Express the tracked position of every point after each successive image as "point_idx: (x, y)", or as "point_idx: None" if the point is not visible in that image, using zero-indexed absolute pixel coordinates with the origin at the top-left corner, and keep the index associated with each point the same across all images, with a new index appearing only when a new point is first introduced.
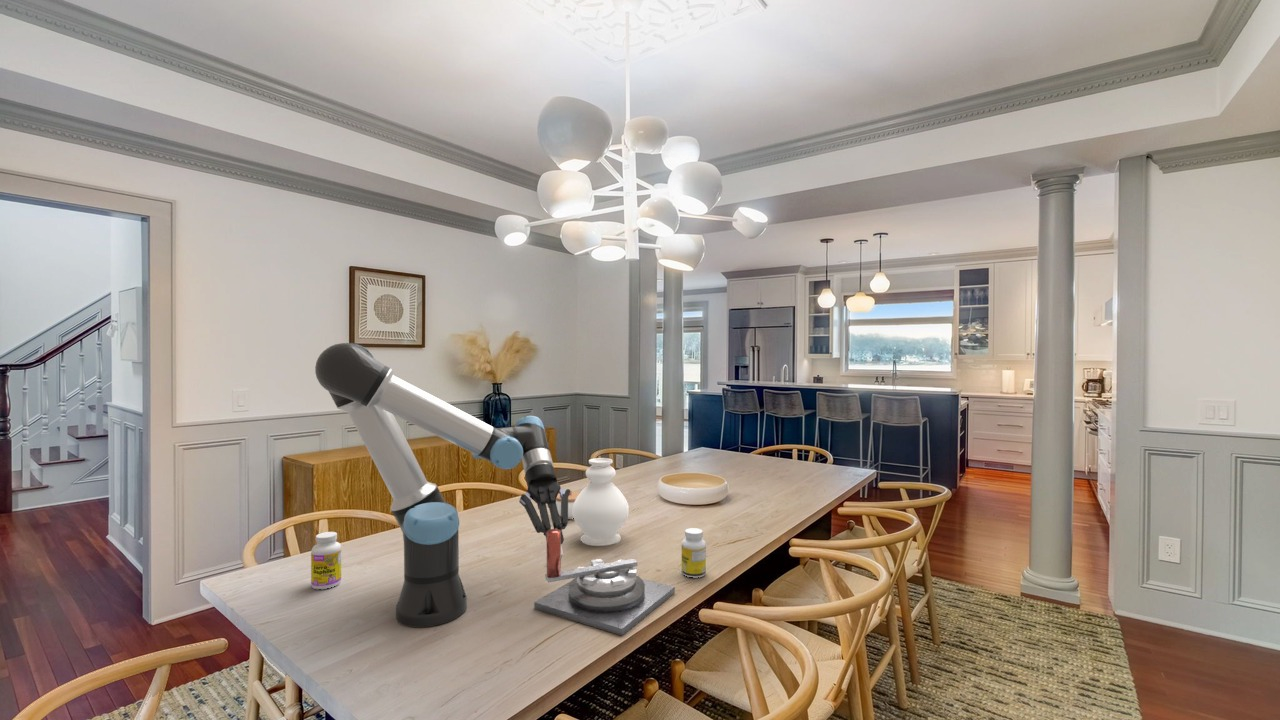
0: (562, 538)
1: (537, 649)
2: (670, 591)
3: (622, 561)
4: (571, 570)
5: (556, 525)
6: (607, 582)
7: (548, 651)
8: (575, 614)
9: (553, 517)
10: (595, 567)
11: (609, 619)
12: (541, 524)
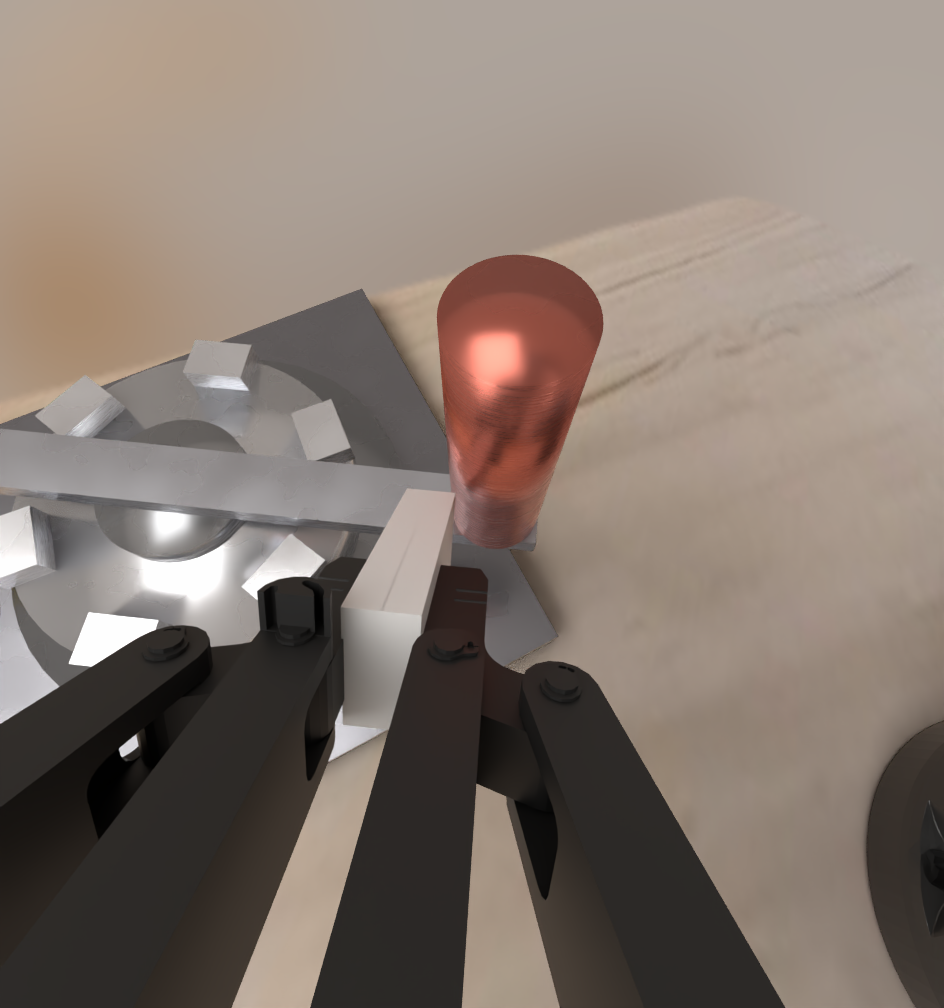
0: (334, 571)
1: (631, 363)
2: (1, 427)
3: (38, 478)
4: (373, 514)
5: (325, 643)
6: (254, 403)
7: (603, 339)
8: (446, 441)
9: (260, 820)
10: (230, 480)
11: (360, 352)
12: (545, 700)
